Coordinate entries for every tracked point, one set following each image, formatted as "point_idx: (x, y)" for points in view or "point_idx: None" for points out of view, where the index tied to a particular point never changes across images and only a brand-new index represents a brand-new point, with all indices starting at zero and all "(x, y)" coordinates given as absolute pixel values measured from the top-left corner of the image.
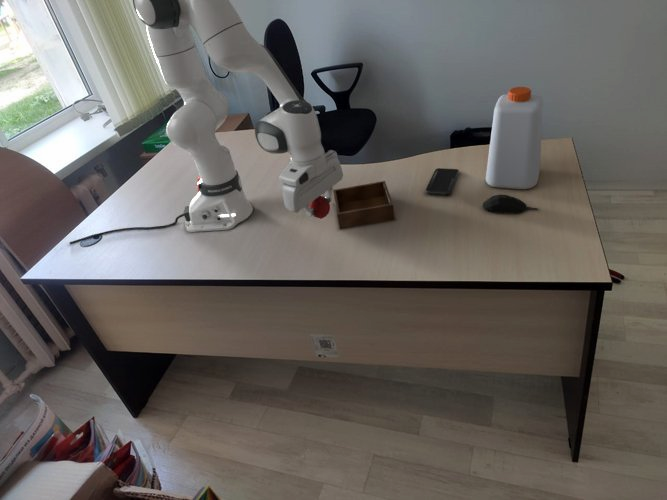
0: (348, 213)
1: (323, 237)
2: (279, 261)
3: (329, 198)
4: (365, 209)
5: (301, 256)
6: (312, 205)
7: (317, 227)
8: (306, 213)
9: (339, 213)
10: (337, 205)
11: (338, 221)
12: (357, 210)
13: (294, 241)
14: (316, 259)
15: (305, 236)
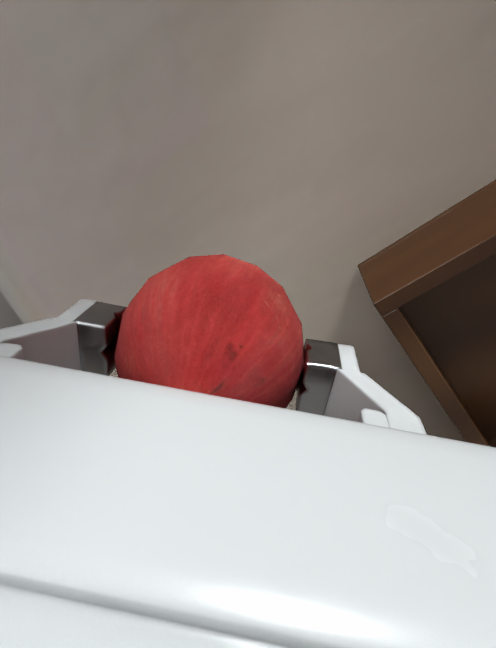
0: (406, 352)
1: (269, 219)
2: (6, 108)
3: (322, 409)
4: (455, 424)
5: (98, 200)
6: (117, 369)
7: (345, 126)
8: (76, 305)
9: (387, 312)
10: (486, 253)
11: (365, 284)
12: (439, 392)
13: (173, 68)
14: (120, 279)
15: (240, 107)
